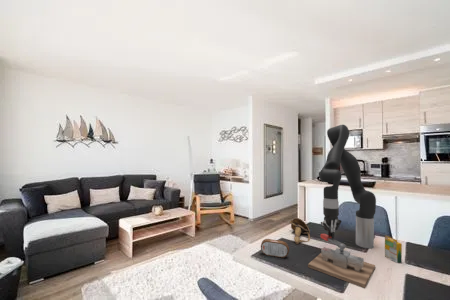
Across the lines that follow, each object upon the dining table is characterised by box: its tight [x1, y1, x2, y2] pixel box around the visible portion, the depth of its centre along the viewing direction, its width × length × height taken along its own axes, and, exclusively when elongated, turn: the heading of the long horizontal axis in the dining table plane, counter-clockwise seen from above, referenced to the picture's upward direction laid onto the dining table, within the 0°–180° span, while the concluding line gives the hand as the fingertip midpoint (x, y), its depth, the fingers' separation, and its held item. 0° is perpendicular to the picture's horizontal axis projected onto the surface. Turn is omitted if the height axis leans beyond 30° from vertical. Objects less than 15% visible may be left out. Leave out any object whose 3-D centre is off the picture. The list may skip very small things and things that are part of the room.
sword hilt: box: [289, 217, 311, 245], centre depth 146 cm, size 10×24×15 cm
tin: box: [260, 238, 290, 259], centre depth 121 cm, size 15×3×8 cm, turn 71°
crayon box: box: [384, 235, 403, 264], centre depth 117 cm, size 7×3×12 cm, turn 11°
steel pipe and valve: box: [320, 246, 365, 272], centre depth 109 cm, size 6×18×6 cm, turn 47°
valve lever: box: [320, 233, 346, 252], centre depth 115 cm, size 15×3×4 cm, turn 15°
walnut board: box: [307, 252, 376, 289], centre depth 109 cm, size 22×24×2 cm
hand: (331, 238), depth 120 cm, fingers closed
